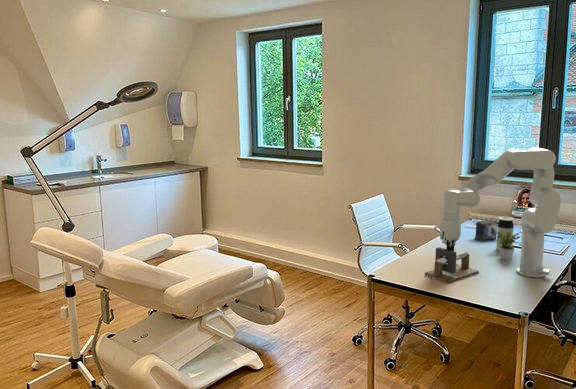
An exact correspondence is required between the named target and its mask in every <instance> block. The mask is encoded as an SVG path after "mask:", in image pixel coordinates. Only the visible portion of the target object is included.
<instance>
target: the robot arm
mask: <svg viewBox="0 0 576 389" xmlns="http://www.w3.org/2000/svg"><path fill="white" fill-rule="evenodd" d="M556 160H557V156H556V154H555V153H554V152H553V151H552V150H550V149H546V148H541V147H530V148H529V149H527V150H519V149H515V148H510V149H507V150H505V151H504V152H503V153H502V154H500V156H498V157H497V158H496V159H495V160H494V161H493V162H492V163H491V164H490V165H489V166H488V167H486V168H485V169H484V170H482V171H480V172H479V173H477V174H475V175H474V176H472V177H471V178H469V179H468V180H467V181H466V182H465V183H463V185H461V186H460V187H459V189H447V190H445V191H444V195H443V214H442V220H441V224H440V230H439V239H440V240H442V242H441V243H442V244H444V245H445V246H446V248H445V249H447V250H451V251H454V252H455V246H456V243H457V241H459V239H460V238H461V234H462V225H461V209H462V208H461V207H468V208H469V207H471V208H473V207H476V206H477V205H479V203H480V201H481V195H480V194H479V193H478V192H479V191H481V190H482V189H484V188H486V187H489V186H494V185H497V184H499V183H501V182H502V181H503V180H504V179H505V178H506V177H507V176H508V175H509V174H510V173H511V172H512V171H514V170H518V171H519V170H520V171H530V170H532V171H533V179H532V182H531V183H532V184H531V187H530V191H529V195H528V198H529V199H528V200H529V202H530V203H531V204H532V205H533V206H536V208H535V207H530V208H527V209H526V210H523V212H522V214H521V218H520V219H521V220H520V222H521V234H522V235H521V243H520V244H521V247H520V262H519V267H517V268H516V269H515V272H516V273H517V274H518V275H520V276H523V277H527V278H535V279H536V278H543V277H545V276H550V272H551V270H550V269H546V268H545V267H546V266H545V265H543V263H544V262H543V260H544V252H545V251H544V249H545V235H547V234H549V233H551V232H552V231H554V228H555V227H556V226H557V225H556V224H557V220H558V217H559V213H560V209H561V205H562V200H561V199H562V197H561V195H560V194H559V192H558V191H556V190H554V189H553V185H554V180H555V168H554V165H555V163H556Z"/></svg>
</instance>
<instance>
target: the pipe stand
mask: <svg viewBox="0 0 576 389" xmlns="http://www.w3.org/2000/svg"><path fill="white" fill-rule="evenodd" d="M459 260H460V264H457V263H456V273H453V274H452V273H449V272H446V271H443V270H442V267H443V264H448V257H445V256H444V257H443V258H440V259H437V260H436V262H435V261H434V267H433V268H434V269H433V270H429V271H426V272H425V273H424V276H427V275H428V276H427V277H429V276H431V277H430V278H432V277H434V278H433V279H435V278H436V279H435V280H438V279H439V280H438V281H441V282H444V283H446V282H447V283H446V284H451V283H454V282H457V281H460V280H463V279H466V278H469V277H472V276H475V275H478V274H479V271H480V270H477V269H474V268H471V267H470V253H468V251H466V250H464V251H461V252H457V253H456V261H459ZM477 273H478V274H477ZM474 274H475V275H474ZM471 275H472V276H471Z"/></svg>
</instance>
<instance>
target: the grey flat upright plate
mask: <svg viewBox="0 0 576 389" xmlns="http://www.w3.org/2000/svg"><path fill="white" fill-rule="evenodd" d="M457 253H458V252H457V251H455V250H454V251H451V250H447V249H446V248H443V247H436V248H435V258H434V259H435V261H434V263H435V262H436V260H437V259H440V258H443V257H448V264H443V267H442V270H443V271H446V272H449V273H452V274H453V273H456V264H457V260H456V254H457Z"/></svg>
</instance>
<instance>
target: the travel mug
mask: <svg viewBox="0 0 576 389" xmlns="http://www.w3.org/2000/svg"><path fill="white" fill-rule="evenodd" d="M514 219H515V218H513V217H510V216H500V217H498V222H497V235H496V240H501V238H500V236H501V235H500V233H499V232H498V230H499V231H500V232H501V233H502V235H503V237H504V235H505V238H506V230H507V233H508V232H509V231H510V229H511V236H512V237H513V235H514V226H515V224H514V222H513V221H514ZM498 234H499V235H500V236H499V235H498ZM512 237H510V239H511V238H512ZM513 245H514V243H512V244H511V245H510V246H512V247H513ZM500 246H502V244H501V243H500V242H498V241H496V251H497V250H498V251H499V252H500Z"/></svg>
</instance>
